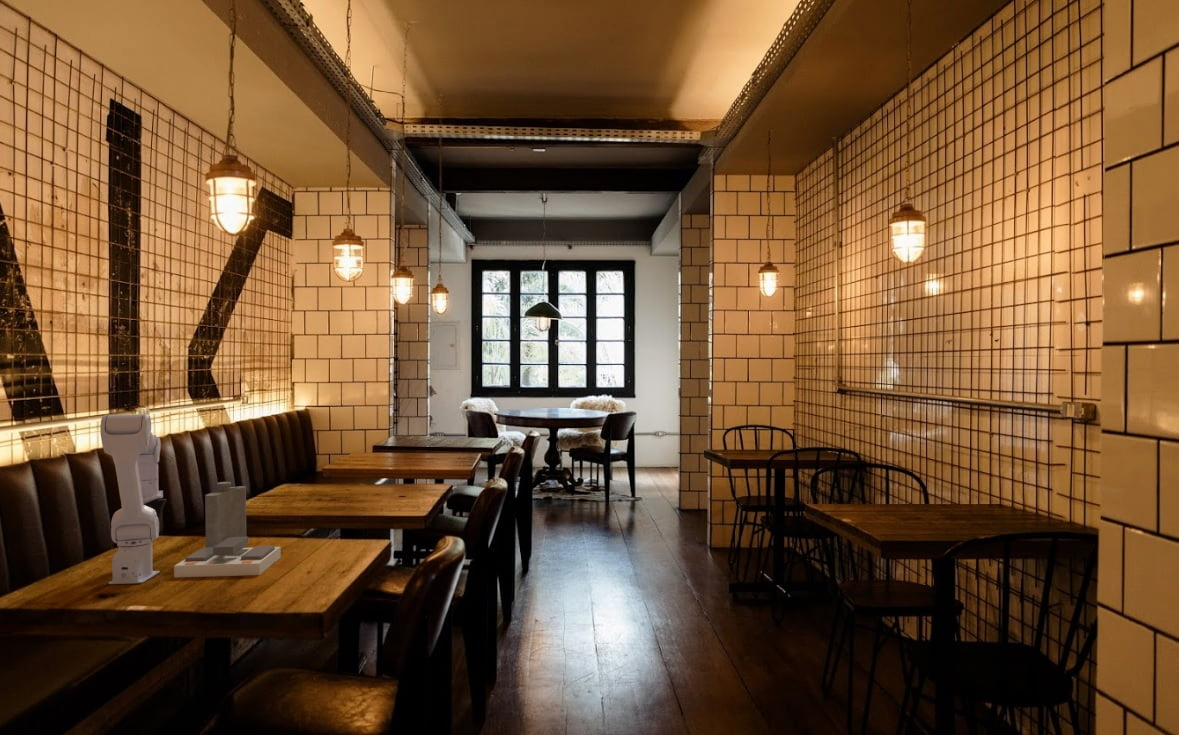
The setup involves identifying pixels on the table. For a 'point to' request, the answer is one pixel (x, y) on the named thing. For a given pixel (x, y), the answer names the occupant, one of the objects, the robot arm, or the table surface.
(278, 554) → the switch unit
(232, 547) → the button middle
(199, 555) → the button
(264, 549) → the button
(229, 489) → the hip flask
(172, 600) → the table surface
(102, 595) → the table surface
